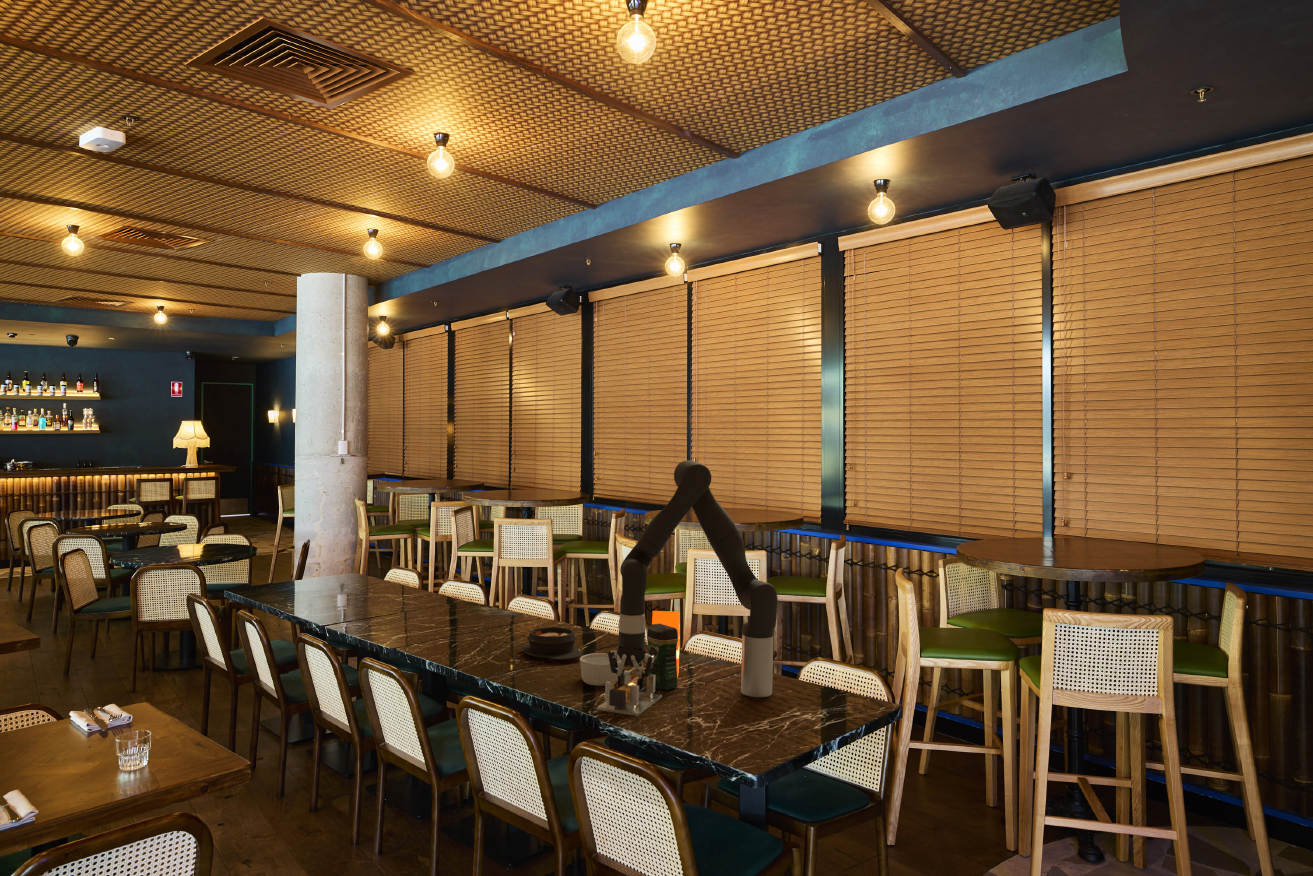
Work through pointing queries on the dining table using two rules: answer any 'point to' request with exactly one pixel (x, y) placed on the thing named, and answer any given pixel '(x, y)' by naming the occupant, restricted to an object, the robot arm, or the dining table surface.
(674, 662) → the coffee jar
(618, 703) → the tube
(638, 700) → the white holder rack
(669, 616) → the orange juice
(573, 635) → the casserole
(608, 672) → the ramekin
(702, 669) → the dining table surface
